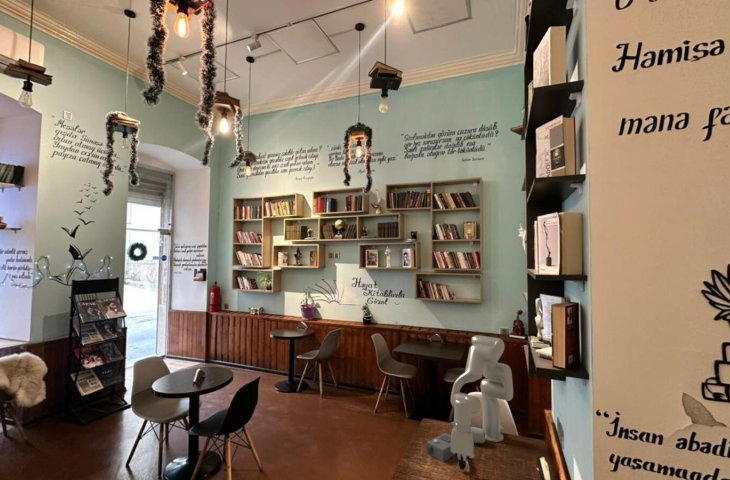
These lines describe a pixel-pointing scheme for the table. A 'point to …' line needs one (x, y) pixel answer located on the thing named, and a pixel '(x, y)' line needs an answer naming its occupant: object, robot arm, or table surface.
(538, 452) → the table surface
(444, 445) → the grey control box
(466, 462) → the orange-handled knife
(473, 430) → the ceramic mug
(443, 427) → the table surface
